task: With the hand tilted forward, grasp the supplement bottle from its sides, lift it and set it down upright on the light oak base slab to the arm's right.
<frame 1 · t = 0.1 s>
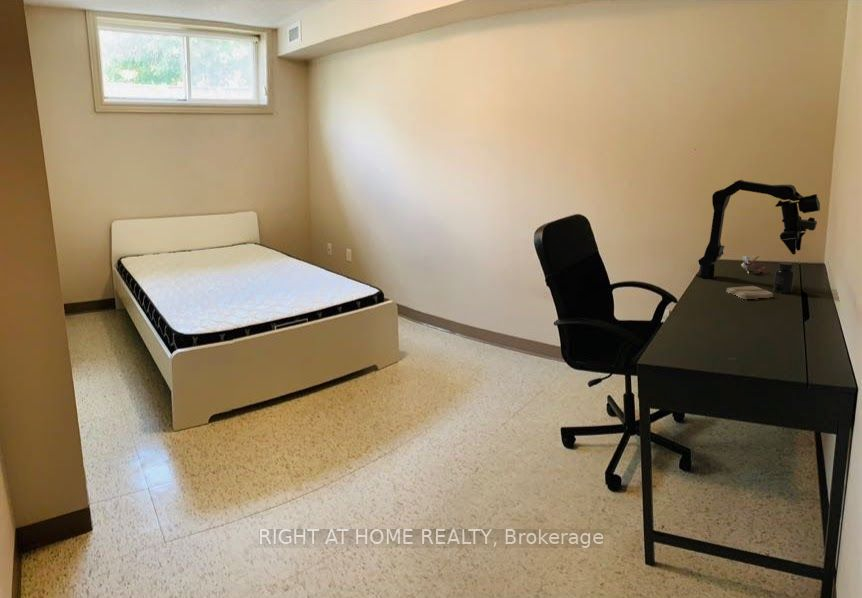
hand: (796, 252, 248), 15 cm above the table, tool pointing down, fingers open, 9 cm apart
supplement bottle: (782, 292, 248), on the table
toy character: (752, 273, 278), on the table
base slab: (748, 295, 244), on the table
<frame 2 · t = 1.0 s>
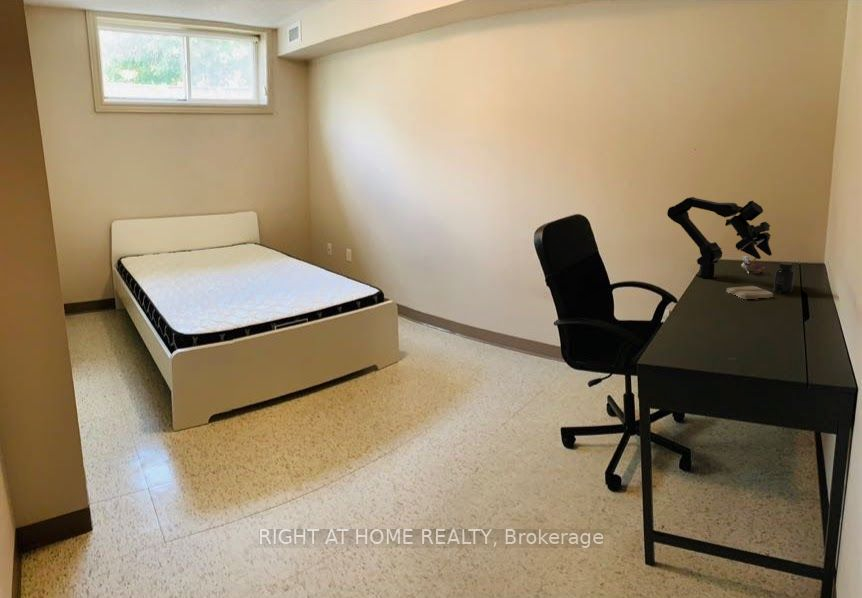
hand: (765, 257, 250), 13 cm above the table, tool tilted 45°, fingers open, 9 cm apart
nothing on the table moved.
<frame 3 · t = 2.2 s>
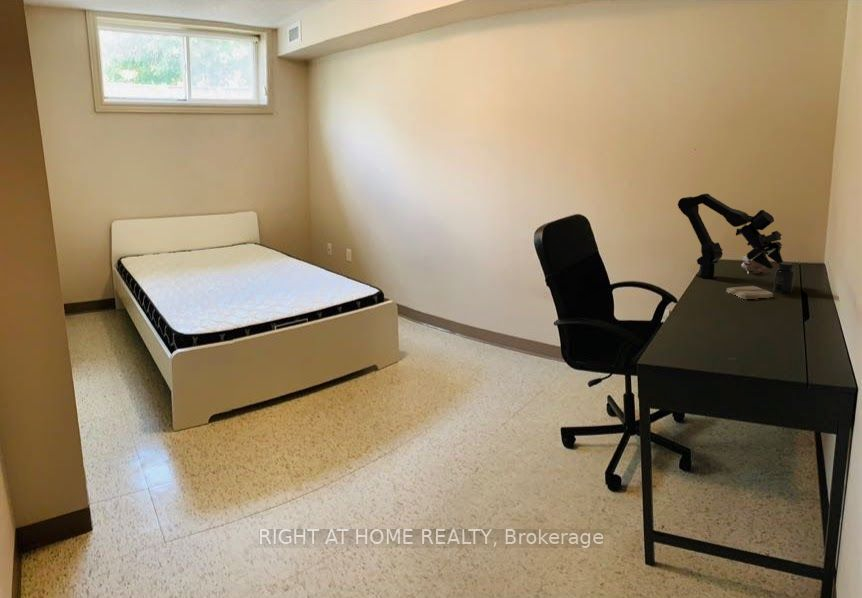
hand: (777, 266, 247), 10 cm above the table, tool tilted 45°, fingers open, 9 cm apart
nothing on the table moved.
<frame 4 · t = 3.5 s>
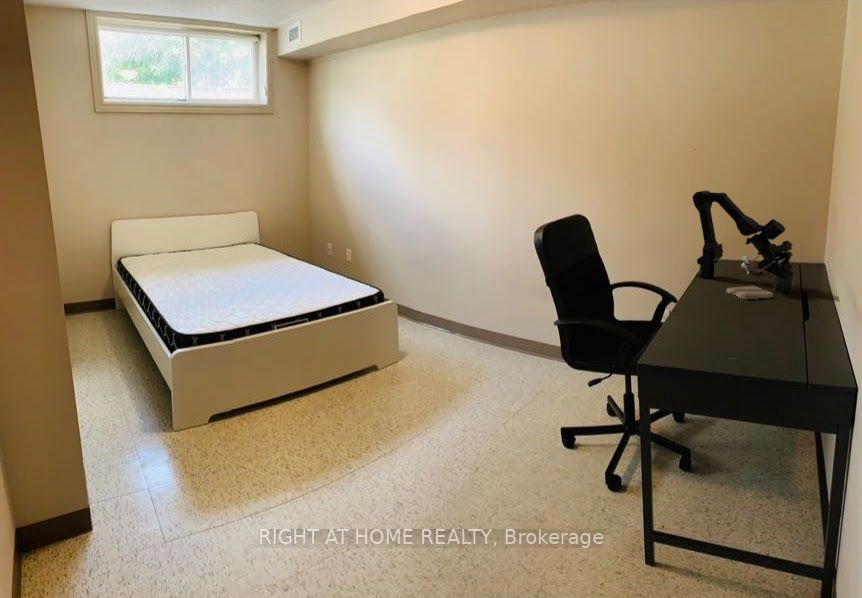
hand: (788, 276, 245), 7 cm above the table, tool tilted 45°, fingers closed on supplement bottle, 7 cm apart
supplement bottle: (782, 292, 248), on the table, touching gripper
everything else where it was.
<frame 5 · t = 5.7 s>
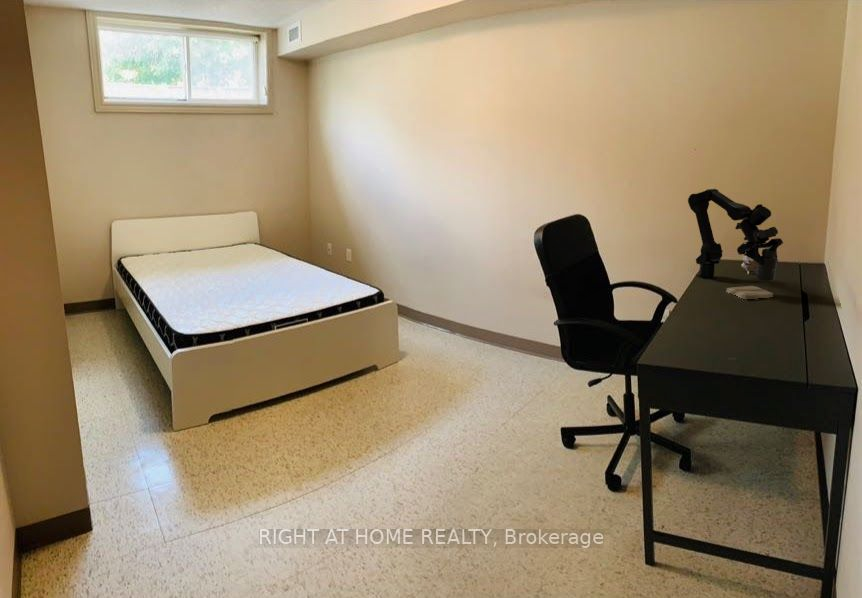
hand: (769, 263, 240), 13 cm above the table, tool tilted 45°, fingers closed on supplement bottle, 7 cm apart
supplement bottle: (764, 279, 243), point 6 cm above the table, touching gripper
everything else where it was.
when the fingers open (10 cm above the table, at t = 7.4 s): supplement bottle stays where it is, resting on base slab.
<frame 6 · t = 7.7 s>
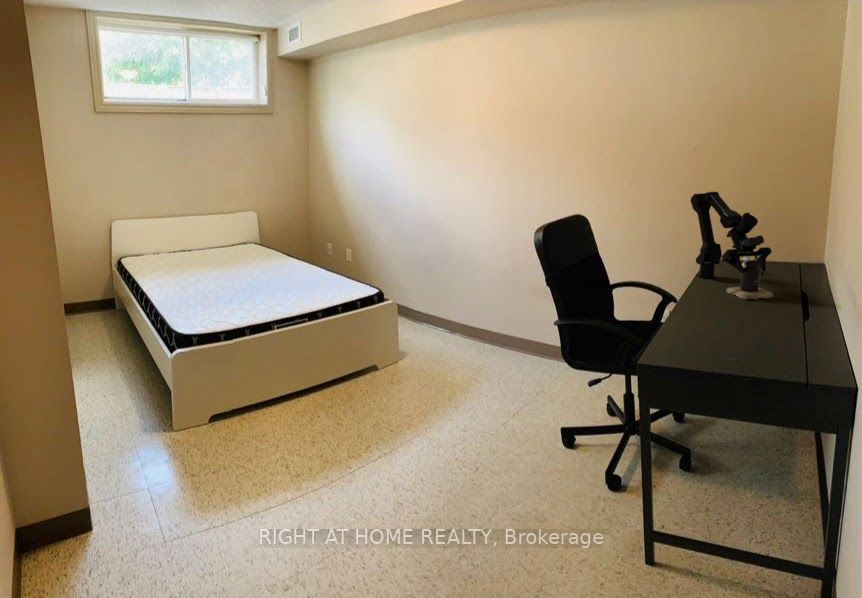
hand: (754, 272, 240), 10 cm above the table, tool tilted 45°, fingers open, 9 cm apart
supplement bottle: (748, 290, 244), point 2 cm above the table, touching base slab
everything else where it was.
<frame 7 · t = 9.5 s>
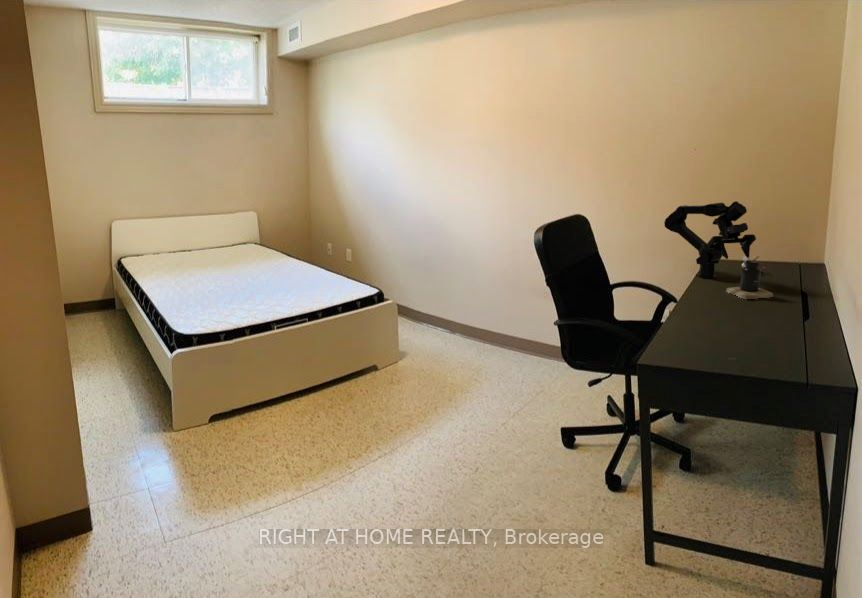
hand: (737, 257, 252), 13 cm above the table, tool tilted 45°, fingers open, 9 cm apart
nothing on the table moved.
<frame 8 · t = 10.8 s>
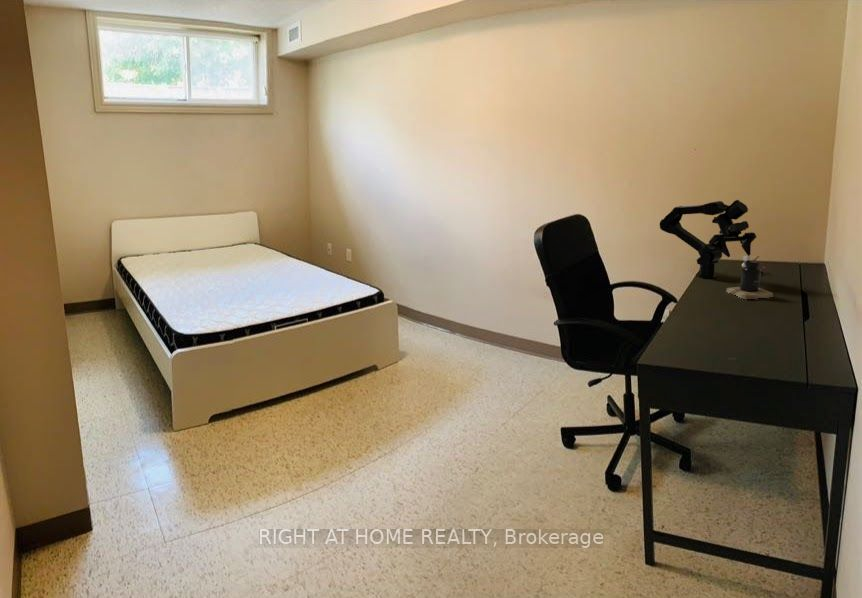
hand: (739, 255, 253), 14 cm above the table, tool tilted 45°, fingers open, 9 cm apart
nothing on the table moved.
at the end: supplement bottle inside the target area on the base slab (0.2 cm from its centre), point 1.9 cm above the base slab's base; supplement bottle tilted 0°; the gripper is holding nothing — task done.
